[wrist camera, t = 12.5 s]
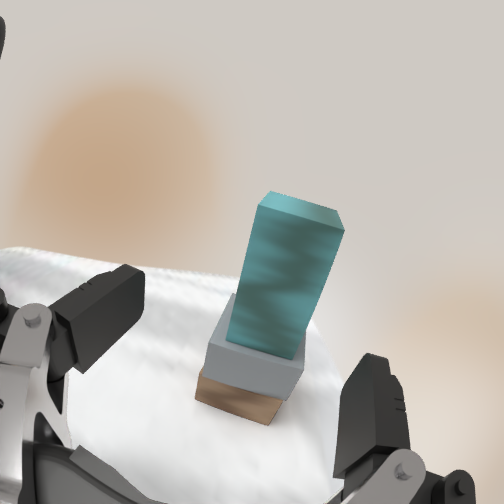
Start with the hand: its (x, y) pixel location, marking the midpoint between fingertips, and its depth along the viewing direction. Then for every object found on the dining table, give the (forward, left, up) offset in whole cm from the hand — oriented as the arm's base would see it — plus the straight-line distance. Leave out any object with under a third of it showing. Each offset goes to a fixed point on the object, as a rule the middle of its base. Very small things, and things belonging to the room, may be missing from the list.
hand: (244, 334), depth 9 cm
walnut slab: (0, +10, -16) cm, 19 cm away
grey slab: (0, +11, -12) cm, 16 cm away
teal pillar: (0, +10, -8) cm, 13 cm away
